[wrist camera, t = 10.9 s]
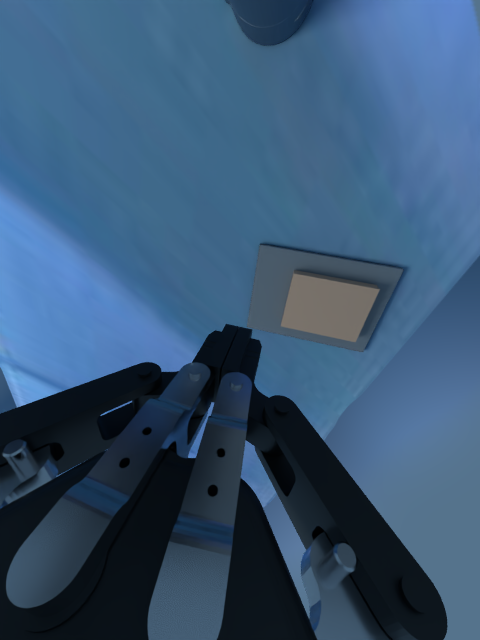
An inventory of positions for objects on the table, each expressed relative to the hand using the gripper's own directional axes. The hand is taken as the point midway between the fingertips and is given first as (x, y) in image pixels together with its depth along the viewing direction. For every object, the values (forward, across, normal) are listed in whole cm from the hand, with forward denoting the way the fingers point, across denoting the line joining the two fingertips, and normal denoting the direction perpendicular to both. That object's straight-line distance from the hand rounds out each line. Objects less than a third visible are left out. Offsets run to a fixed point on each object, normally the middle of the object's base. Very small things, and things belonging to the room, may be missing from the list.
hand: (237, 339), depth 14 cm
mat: (+29, -8, +9) cm, 32 cm away
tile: (+27, -4, +9) cm, 29 cm away
